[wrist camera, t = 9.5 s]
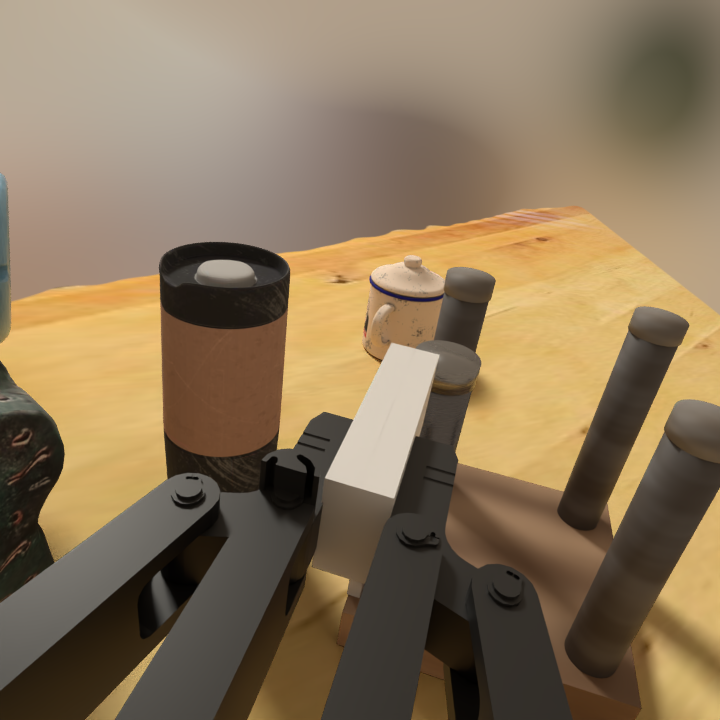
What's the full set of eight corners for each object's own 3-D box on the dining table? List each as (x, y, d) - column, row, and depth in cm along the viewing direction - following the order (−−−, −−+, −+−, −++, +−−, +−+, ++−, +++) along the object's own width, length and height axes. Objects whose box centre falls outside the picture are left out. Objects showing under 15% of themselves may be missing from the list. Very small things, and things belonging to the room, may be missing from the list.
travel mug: (278, 486, 47) (299, 250, 38) (263, 560, 41) (283, 297, 31) (183, 475, 47) (179, 234, 37) (152, 548, 40) (137, 278, 31)
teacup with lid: (380, 324, 77) (395, 238, 71) (444, 347, 73) (465, 259, 68) (333, 357, 67) (345, 261, 61) (404, 386, 64) (423, 287, 58)
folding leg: (377, 544, 37) (420, 334, 30) (426, 559, 36) (483, 349, 29) (364, 584, 34) (409, 363, 27) (418, 600, 34) (478, 380, 26)
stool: (392, 474, 50) (437, 256, 41) (594, 531, 48) (694, 311, 38) (335, 643, 36) (384, 366, 26) (622, 739, 33) (794, 468, 23)
